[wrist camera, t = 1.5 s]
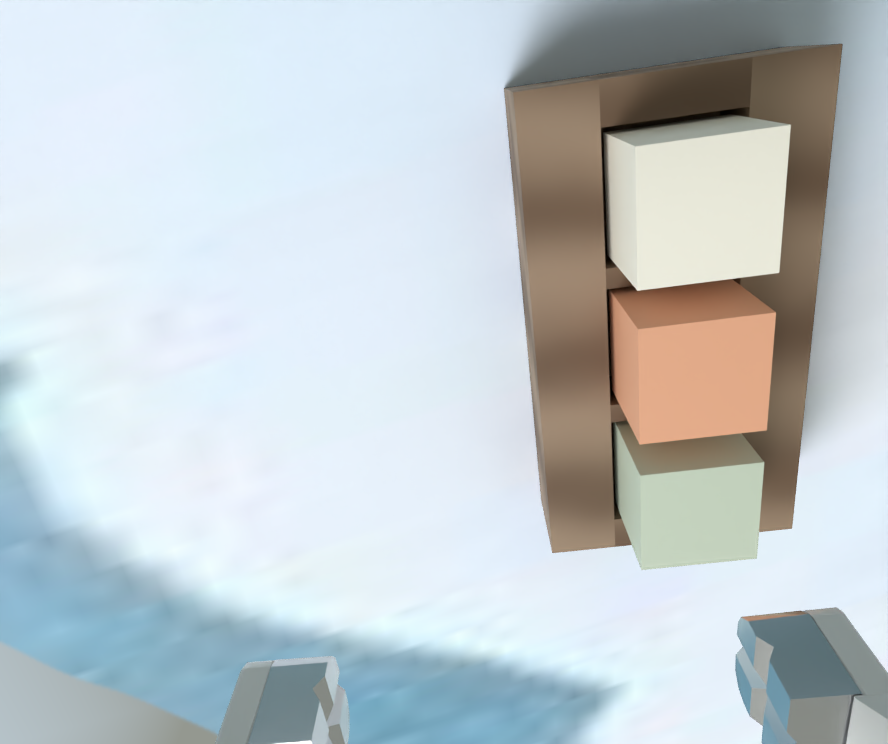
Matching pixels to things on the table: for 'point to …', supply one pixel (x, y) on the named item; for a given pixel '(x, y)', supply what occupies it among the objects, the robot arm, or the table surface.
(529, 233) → the board
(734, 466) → the sage key
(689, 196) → the cream key
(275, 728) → the robot arm
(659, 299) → the terracotta key
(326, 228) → the table surface
